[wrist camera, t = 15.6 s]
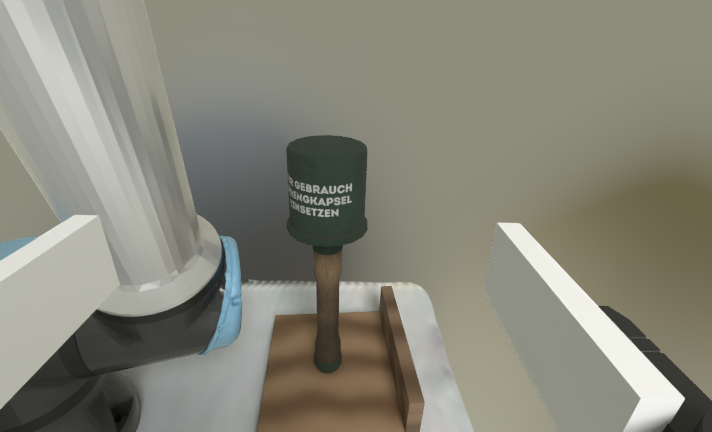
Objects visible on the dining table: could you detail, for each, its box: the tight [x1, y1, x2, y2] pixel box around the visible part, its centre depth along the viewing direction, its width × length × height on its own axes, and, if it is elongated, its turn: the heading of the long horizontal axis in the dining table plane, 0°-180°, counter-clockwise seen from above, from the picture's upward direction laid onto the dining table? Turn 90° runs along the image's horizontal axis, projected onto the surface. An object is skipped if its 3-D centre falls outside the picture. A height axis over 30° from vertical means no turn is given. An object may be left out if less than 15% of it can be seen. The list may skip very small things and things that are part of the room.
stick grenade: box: [287, 135, 367, 373], centre depth 42 cm, size 8×9×30 cm
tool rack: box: [257, 286, 425, 432], centre depth 48 cm, size 20×18×7 cm
